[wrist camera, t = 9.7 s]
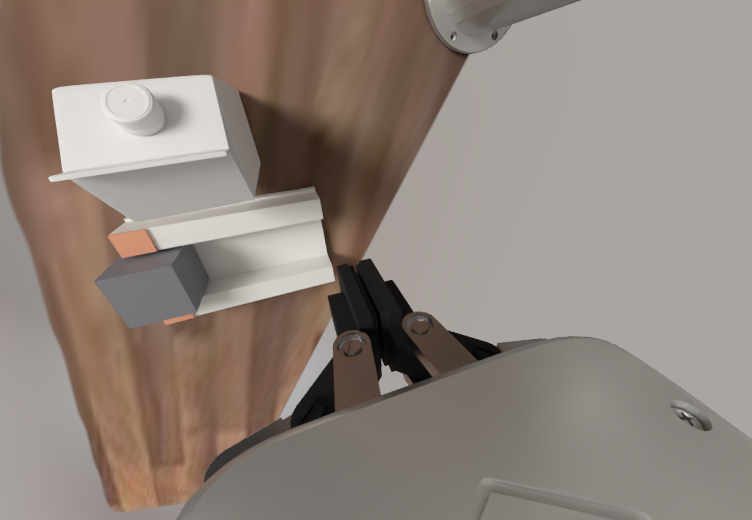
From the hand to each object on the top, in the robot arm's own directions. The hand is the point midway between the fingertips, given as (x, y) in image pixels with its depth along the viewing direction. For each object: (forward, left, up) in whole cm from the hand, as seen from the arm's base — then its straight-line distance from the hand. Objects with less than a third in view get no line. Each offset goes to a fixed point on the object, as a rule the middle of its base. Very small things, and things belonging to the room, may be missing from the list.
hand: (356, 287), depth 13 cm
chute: (+9, +7, -24) cm, 27 cm away
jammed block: (+17, +7, -23) cm, 29 cm away
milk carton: (+8, -6, -24) cm, 26 cm away
